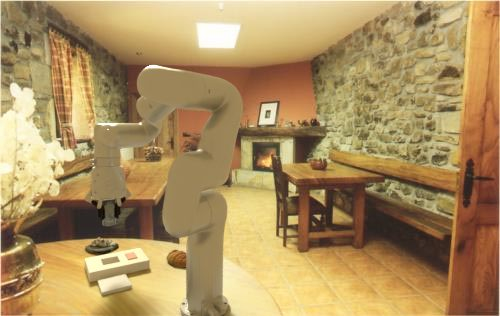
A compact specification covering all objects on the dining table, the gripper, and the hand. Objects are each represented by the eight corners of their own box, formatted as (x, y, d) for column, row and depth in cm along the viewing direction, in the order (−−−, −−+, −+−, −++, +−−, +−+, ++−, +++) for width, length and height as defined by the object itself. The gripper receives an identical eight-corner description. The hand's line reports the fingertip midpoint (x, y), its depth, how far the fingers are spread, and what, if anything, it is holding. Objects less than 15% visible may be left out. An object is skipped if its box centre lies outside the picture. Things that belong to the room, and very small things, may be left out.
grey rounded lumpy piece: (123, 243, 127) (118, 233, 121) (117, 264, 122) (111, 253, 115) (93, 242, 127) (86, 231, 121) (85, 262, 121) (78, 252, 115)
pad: (131, 288, 93) (131, 285, 93) (101, 295, 89) (101, 292, 89) (125, 276, 100) (125, 273, 100) (97, 283, 95) (97, 280, 95)
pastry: (196, 264, 110) (196, 254, 110) (180, 271, 105) (180, 260, 105) (179, 256, 116) (179, 246, 116) (164, 262, 111) (163, 252, 111)
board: (149, 268, 106) (149, 259, 105) (89, 282, 96) (89, 271, 96) (140, 255, 116) (140, 246, 115) (84, 266, 106) (84, 257, 106)
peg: (117, 224, 102) (116, 200, 102) (103, 226, 100) (102, 202, 99) (114, 221, 106) (114, 198, 105) (101, 223, 104) (100, 199, 103)
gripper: (79, 165, 93) (81, 225, 95) (137, 162, 102) (138, 217, 104) (76, 162, 99) (78, 219, 101) (132, 159, 108) (133, 212, 110)
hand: (109, 217), depth 103 cm, fingers closed on peg, 4 cm apart
